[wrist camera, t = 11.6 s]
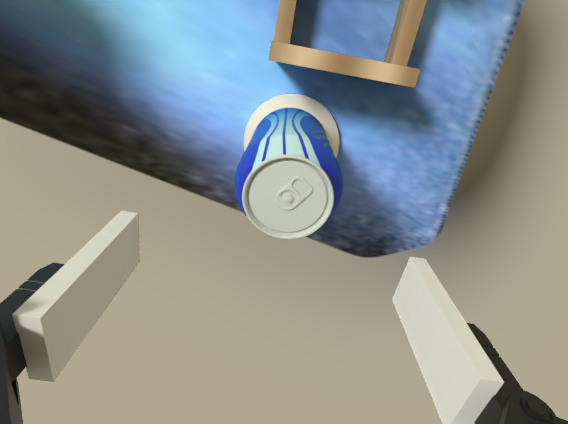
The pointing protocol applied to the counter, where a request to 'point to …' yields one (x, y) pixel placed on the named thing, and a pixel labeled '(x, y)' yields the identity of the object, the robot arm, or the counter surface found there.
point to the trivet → (300, 103)
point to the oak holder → (384, 71)
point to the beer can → (288, 175)
